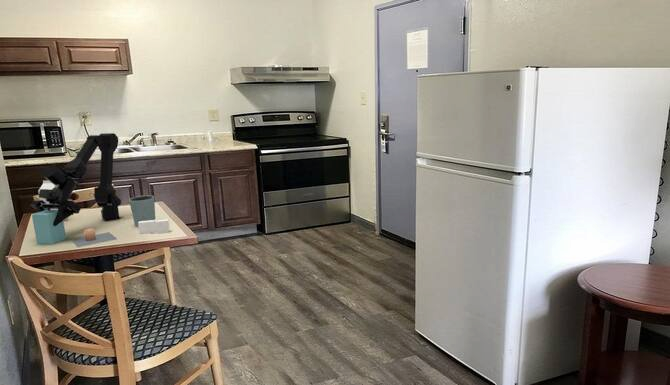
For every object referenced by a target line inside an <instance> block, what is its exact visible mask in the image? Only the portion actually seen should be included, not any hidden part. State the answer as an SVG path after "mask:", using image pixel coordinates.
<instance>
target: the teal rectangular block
mask: <svg viewBox="0 0 670 385" xmlns="http://www.w3.org/2000/svg"><path fill="white" fill-rule="evenodd" d="M57 214H58V210H45V211H41V212H38V211H37V212H36V213H32V214H31V217H32V224H33V229H34V234H35V240H36V244H37V245H54V244H57V243H60V242H61V241H65V240H67V236H66V229H65V224H64V223H65V222H64V221H62V222H61V223H59V224H58V225H56V226H53V223H54V220H55V218H56V216H57Z"/></svg>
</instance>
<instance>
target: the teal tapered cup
mask: <svg viewBox="0 0 670 385" xmlns="http://www.w3.org/2000/svg"><path fill="white" fill-rule="evenodd" d="M155 201H156V200H155V196H154V195H146V194H145V195H139V196H134V197H131V198H129V199H128V202H129V206H130V210H131V214H132V218H133V223H134V226H135V227H137V228H139V226H138V222H139V221H149V220H156V205H155Z"/></svg>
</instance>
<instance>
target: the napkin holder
mask: <svg viewBox="0 0 670 385" xmlns="http://www.w3.org/2000/svg"><path fill="white" fill-rule="evenodd" d="M169 222H170V221H169V219H167V218H166V219H159V220H158V219H155V220H149V221H139V222H138V226H139V227H138V233H139V234H141V235H142V234H165V233H170V232H171V231H170V223H169Z"/></svg>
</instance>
